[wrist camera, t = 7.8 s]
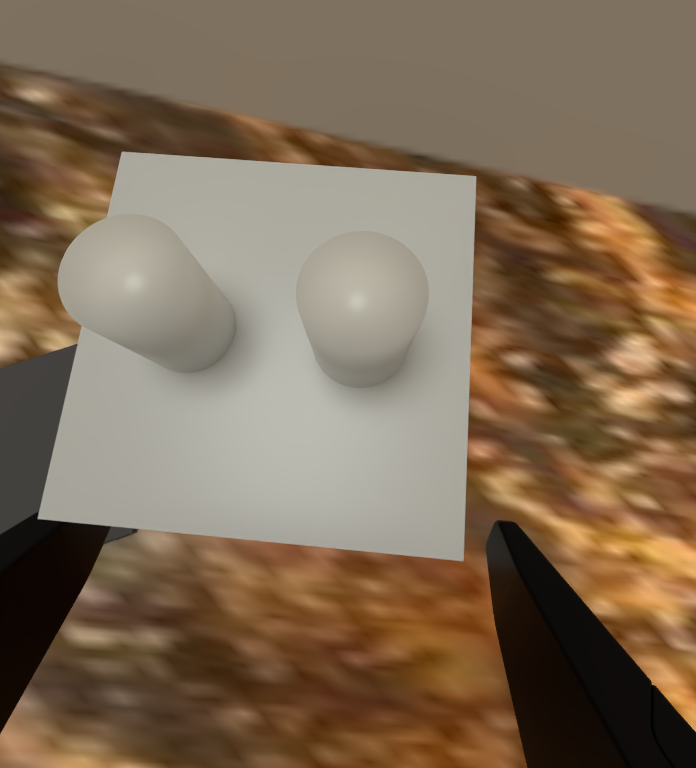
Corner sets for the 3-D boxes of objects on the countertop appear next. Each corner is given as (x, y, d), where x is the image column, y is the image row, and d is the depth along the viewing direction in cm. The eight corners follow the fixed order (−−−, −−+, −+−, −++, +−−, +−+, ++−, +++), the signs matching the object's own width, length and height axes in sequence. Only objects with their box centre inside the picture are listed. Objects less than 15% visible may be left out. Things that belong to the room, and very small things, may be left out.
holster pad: (136, 531, 17) (132, 532, 17) (-72, 603, 17) (-80, 606, 16) (94, 341, 19) (90, 339, 18) (-97, 402, 18) (-104, 401, 18)
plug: (405, 515, 17) (657, 777, 3) (240, 499, 17) (-274, 669, 3) (415, 354, 18) (617, -2, 4) (261, 341, 18) (-26, -37, 4)
